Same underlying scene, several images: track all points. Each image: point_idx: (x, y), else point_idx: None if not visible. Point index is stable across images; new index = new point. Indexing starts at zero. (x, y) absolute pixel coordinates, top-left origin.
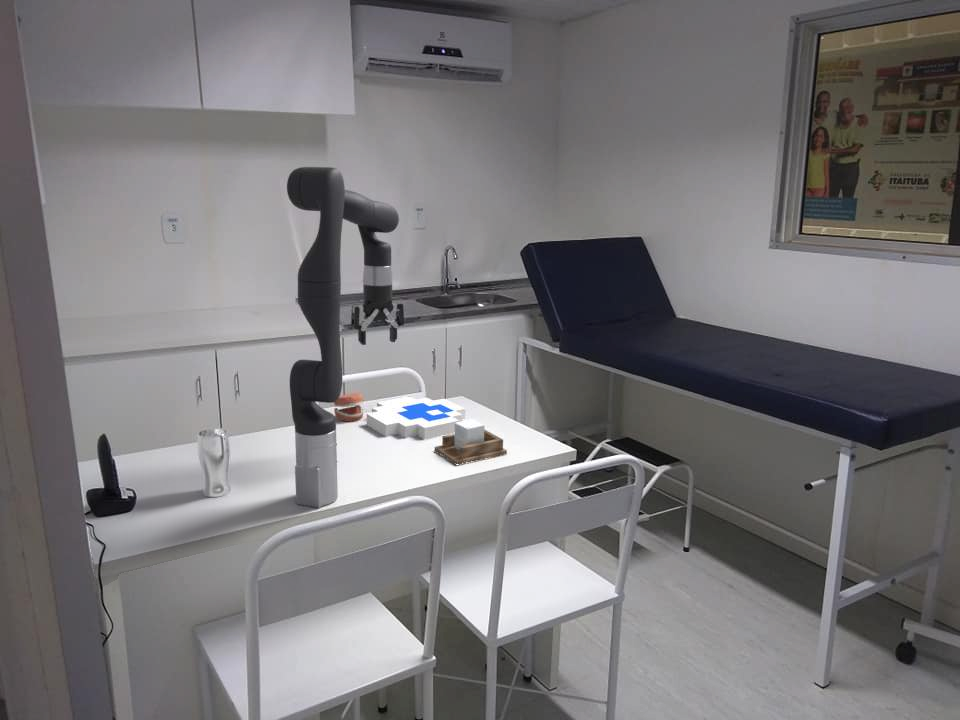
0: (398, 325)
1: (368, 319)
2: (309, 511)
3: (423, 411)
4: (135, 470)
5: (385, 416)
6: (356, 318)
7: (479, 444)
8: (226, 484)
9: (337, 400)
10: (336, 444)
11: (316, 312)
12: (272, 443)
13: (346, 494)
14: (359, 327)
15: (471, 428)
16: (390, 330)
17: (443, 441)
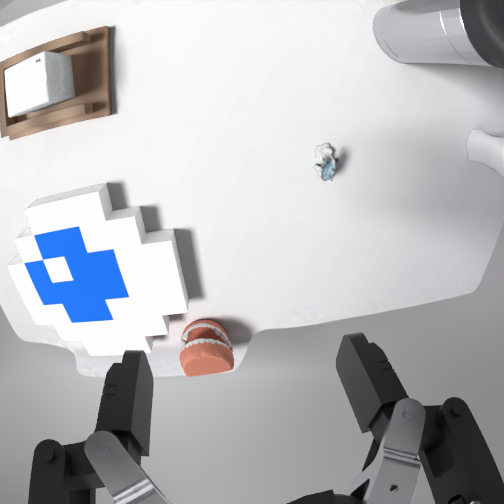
0: (81, 450)
1: (411, 485)
2: None
3: (77, 283)
4: (488, 250)
5: (156, 286)
6: (483, 459)
7: (42, 44)
8: (479, 136)
9: (231, 360)
10: (331, 154)
11: None
12: (363, 274)
13: (359, 15)
14: (425, 421)
15: (34, 55)
16: (145, 434)
17: (88, 108)
